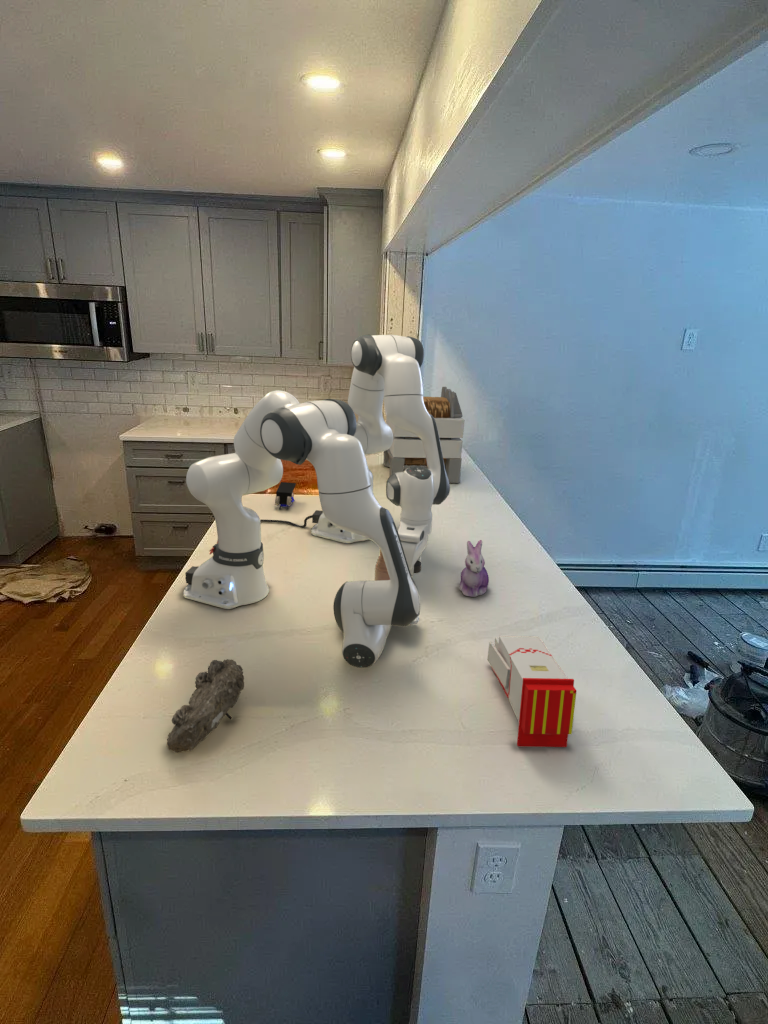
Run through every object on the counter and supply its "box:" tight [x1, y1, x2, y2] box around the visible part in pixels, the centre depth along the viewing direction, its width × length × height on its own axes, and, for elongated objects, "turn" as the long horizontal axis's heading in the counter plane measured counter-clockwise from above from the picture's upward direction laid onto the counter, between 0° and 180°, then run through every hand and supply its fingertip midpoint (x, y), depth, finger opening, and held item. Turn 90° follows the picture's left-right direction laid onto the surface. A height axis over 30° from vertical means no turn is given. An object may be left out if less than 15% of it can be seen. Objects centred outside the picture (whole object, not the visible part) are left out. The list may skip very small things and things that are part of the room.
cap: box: [414, 560, 422, 574], centre depth 162 cm, size 4×4×2 cm
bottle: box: [373, 548, 390, 581], centre depth 145 cm, size 5×5×19 cm
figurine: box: [459, 539, 490, 598], centre depth 159 cm, size 9×10×15 cm
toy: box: [486, 635, 577, 748], centre depth 115 cm, size 12×13×30 cm
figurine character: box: [274, 481, 297, 510], centre depth 222 cm, size 7×8×15 cm
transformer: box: [383, 386, 465, 484], centre depth 268 cm, size 34×33×41 cm
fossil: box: [166, 658, 245, 754], centre depth 106 cm, size 22×10×15 cm
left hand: (384, 592), depth 147 cm, fingers closed on bottle, 5 cm apart
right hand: (413, 570), depth 162 cm, fingers closed on cap, 4 cm apart
